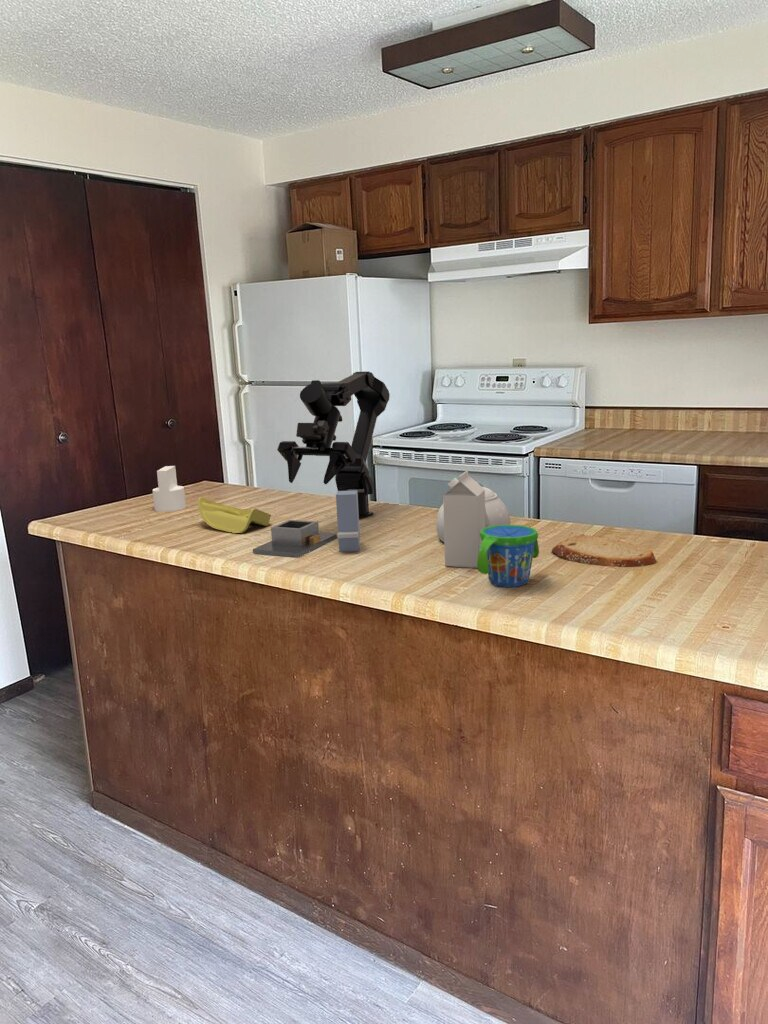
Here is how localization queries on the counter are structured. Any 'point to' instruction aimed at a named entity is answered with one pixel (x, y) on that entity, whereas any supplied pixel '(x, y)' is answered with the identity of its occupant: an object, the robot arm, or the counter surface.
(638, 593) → the counter surface
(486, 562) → the snack cup
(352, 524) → the grey tall block
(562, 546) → the slice of bread
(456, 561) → the milk carton
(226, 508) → the plastic component
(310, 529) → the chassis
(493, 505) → the teapot
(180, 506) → the cylinder with rectangular tab
